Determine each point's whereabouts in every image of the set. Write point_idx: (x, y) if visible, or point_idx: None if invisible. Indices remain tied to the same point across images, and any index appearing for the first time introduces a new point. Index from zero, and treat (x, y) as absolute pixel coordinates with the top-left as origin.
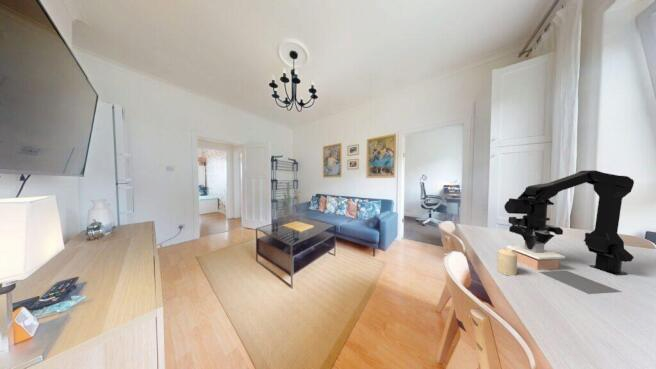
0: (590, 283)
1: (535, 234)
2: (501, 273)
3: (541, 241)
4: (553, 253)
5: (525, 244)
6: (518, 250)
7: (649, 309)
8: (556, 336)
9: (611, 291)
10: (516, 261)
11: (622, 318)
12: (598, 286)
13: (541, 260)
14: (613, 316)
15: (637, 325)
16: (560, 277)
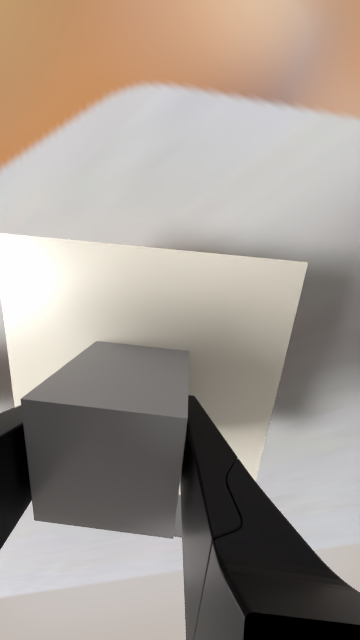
0: (178, 499)
1: (235, 631)
2: None
3: (187, 527)
4: (237, 456)
5: (66, 371)
6: (10, 346)
7: (166, 571)
8: None
9: (177, 533)
10: None
11: (41, 567)
12: (178, 513)
13: None
14: (29, 561)
15: (43, 581)
16: None
